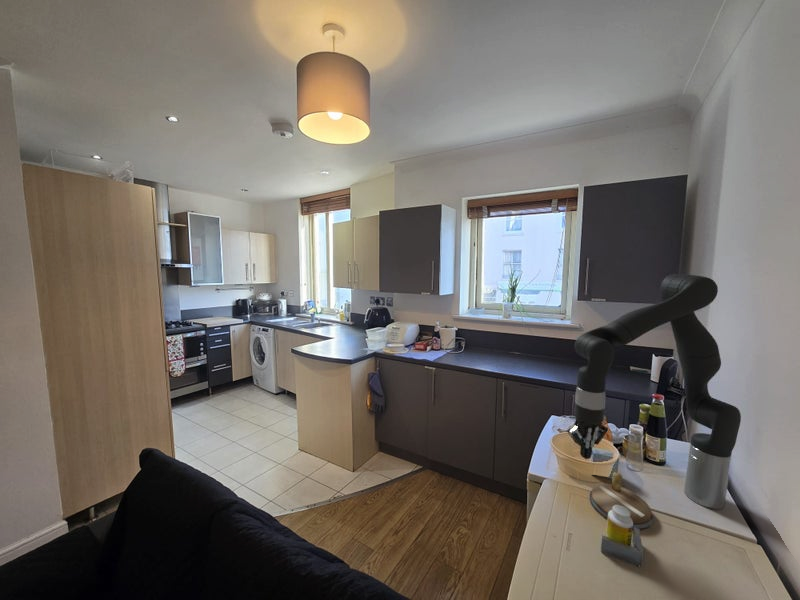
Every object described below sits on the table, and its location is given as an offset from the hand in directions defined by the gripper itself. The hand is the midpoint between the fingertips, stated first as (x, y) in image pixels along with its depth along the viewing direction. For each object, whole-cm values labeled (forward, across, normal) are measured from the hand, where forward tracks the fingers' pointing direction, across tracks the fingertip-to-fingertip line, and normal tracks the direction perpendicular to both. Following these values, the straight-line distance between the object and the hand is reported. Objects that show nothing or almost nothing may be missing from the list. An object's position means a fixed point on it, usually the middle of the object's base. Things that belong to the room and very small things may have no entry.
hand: (585, 457), depth 95 cm
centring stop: (+17, 0, -16) cm, 24 cm away
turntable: (+16, +12, -2) cm, 20 cm away
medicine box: (+18, +20, +12) cm, 29 cm away
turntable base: (+18, +12, -2) cm, 21 cm away
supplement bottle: (+18, 0, -12) cm, 21 cm away
